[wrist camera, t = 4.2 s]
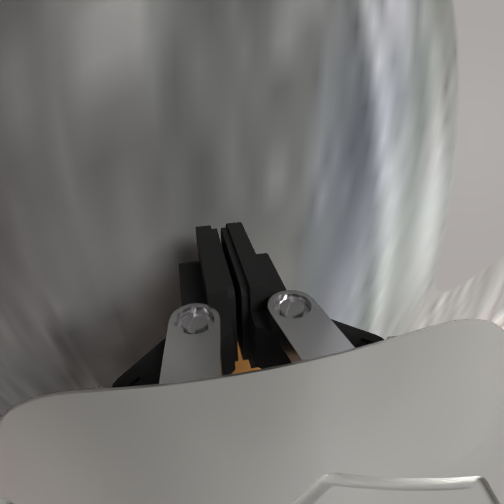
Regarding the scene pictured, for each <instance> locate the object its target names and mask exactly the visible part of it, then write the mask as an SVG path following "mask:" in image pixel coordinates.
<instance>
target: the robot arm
mask: <svg viewBox="0 0 504 504" xmlns="http://www.w3.org/2000/svg"><path fill="white" fill-rule="evenodd" d="M196 237H197V247H198V256H199V261H198V262H189V263H181V264H179V273H180V287H181V301H182V307H180V308H178V309H177V310H175V311H174V312H173V314H172V315H171V317H170V319H169V324H168V329H167V335H166V338H165V339H164V340H163V341H161V342H160V343H159V344H158V345H157V346H156V347H154V348H153V349H152V350H151V351H150V352H149V353H147V354H146V355H145V356H144V357H143V358H142V359H140V360H139V361H138V362H137V363H136V364H135V365H133V366H132V367H131V368H130V369H129V370H127V371H126V372H125V373H124V374H123V375H122V376H120V377H119V378H118V379H117V380H116V381H115V383H114V384H113V386H112V387H111V388H104V386H99V387H95V388H91V389H87V390H75V391H65V392H58V393H51V394H47V395H43V396H38V397H35V398H32V399H29V400H26V401H24V402H21V403H19V404H17V405H15V406H13V407H12V408H10V409H8V410H7V411H6V412H5V413H4V414H3V415H2V416H1V418H0V504H504V330H503V329H502V328H501V327H500V326H498V325H497V324H495V323H493V322H490V321H486V320H480V319H462V320H453V321H449V322H444V323H440V324H437V325H433V326H430V327H427V328H423V329H420V330H416V331H413V332H410V333H406V334H403V335H400V336H393V337H388V338H387V339H386V340H384V339H383V338H381V337H379V336H377V335H375V334H372V333H369V332H366V331H363V330H360V329H357V328H355V327H352V326H349V325H346V324H343V323H340V322H337V321H335V320H332V319H330V318H329V317H328V315H327V314H326V313H325V312H324V311H323V310H322V308H321V307H320V306H319V305H318V304H317V303H316V301H315V300H314V299H313V298H312V297H310V296H309V295H308V294H306V293H303V292H300V291H296V290H286V288H285V286H284V284H283V282H282V280H281V278H280V276H279V275H278V273H277V271H276V269H275V267H274V265H273V263H272V261H271V259H270V257H269V255H268V254H267V253H263V254H256V253H255V251H254V249H253V247H252V245H251V242H250V240H249V238H248V236H247V234H246V232H245V229H244V227H243V225H242V223H241V222H238V223H228V224H226V228H221V242H220V239H219V235H218V232H217V229H211V226H201V227H196ZM237 341H238V343H237ZM238 345H239V348H240V352H241V356H242V359H243V360H249V363H250V367H251V368H257V367H259V368H261V369H259V370H253V371H248V372H242V373H236V374H232V373H233V372H234V370H235V369H236V368H235V362H236V361H238Z"/></svg>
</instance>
